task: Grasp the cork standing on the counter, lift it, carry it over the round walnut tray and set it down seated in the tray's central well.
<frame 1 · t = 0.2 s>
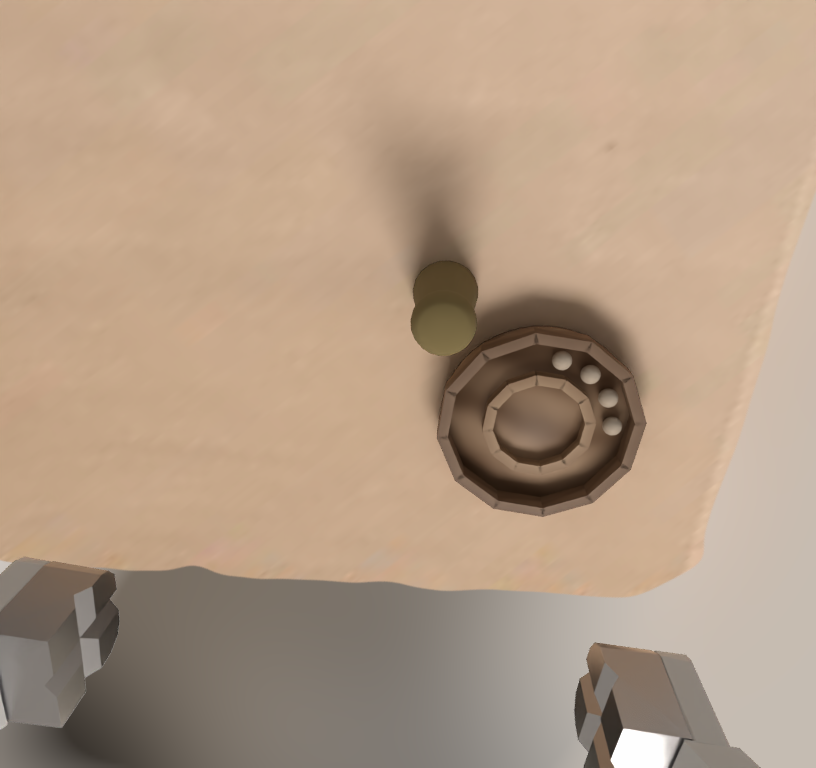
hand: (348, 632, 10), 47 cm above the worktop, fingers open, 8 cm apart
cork: (445, 292, 56), on the worktop
tray: (535, 416, 60), on the worktop
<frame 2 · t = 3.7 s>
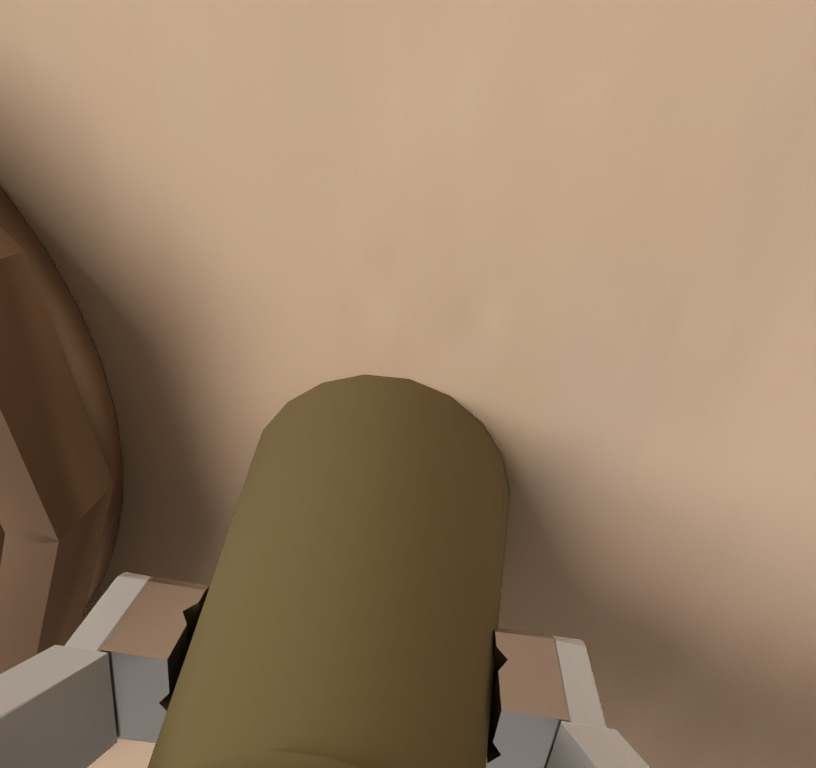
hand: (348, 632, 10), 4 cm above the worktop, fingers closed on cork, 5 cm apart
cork: (379, 490, 14), on the worktop, touching gripper
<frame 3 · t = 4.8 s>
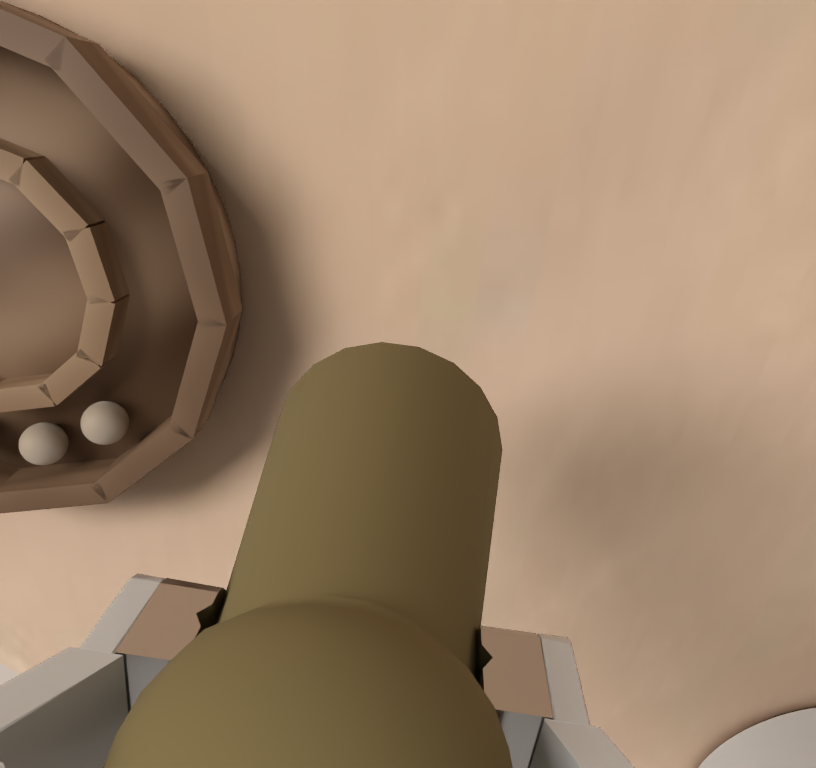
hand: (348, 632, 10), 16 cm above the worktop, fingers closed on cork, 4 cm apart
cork: (388, 445, 16), point 9 cm above the worktop, touching gripper
tray: (6, 269, 24), on the worktop
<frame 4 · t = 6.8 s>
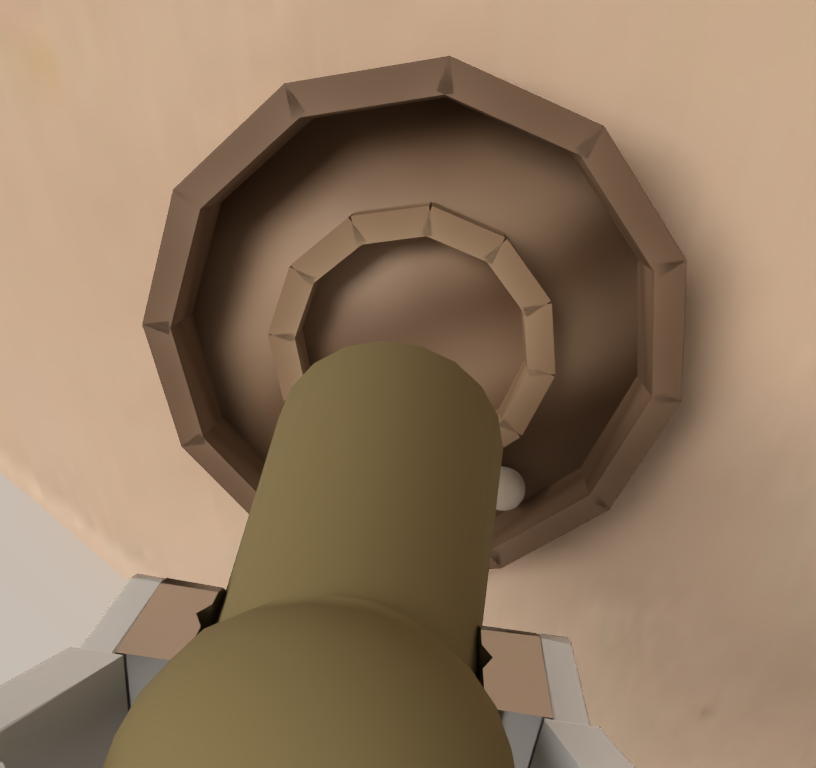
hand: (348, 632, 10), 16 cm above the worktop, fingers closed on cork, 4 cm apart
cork: (389, 444, 16), point 9 cm above the worktop, touching gripper
tray: (414, 335, 25), on the worktop
when the fingers open (7 cm above the worktop, at t = 9.0 s): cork stays where it is, resting on tray.
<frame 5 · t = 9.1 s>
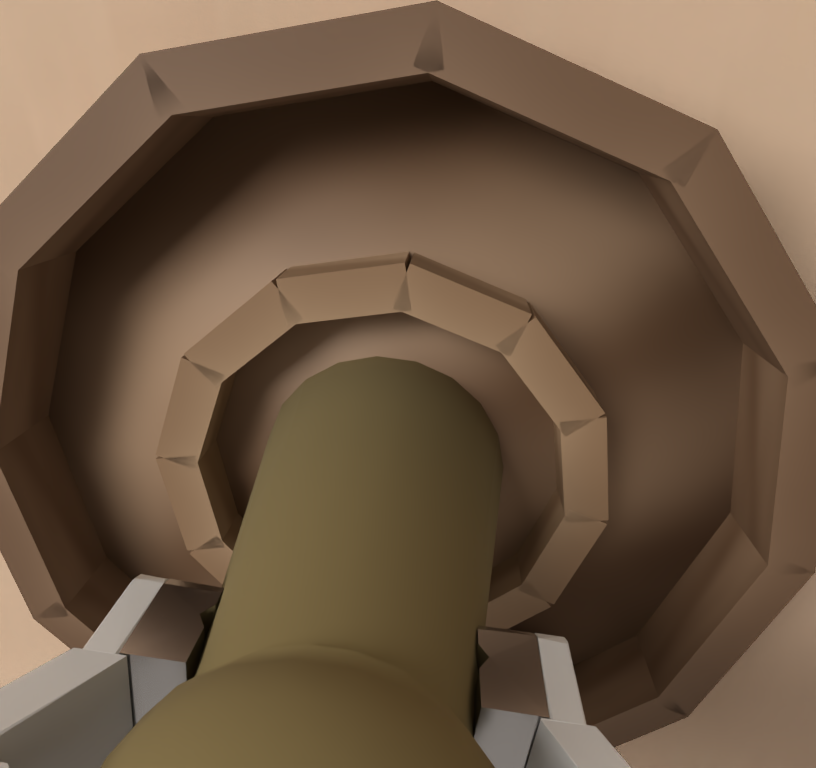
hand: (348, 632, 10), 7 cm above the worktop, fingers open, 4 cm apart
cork: (385, 462, 16), point 1 cm above the worktop, touching tray
tray: (389, 444, 16), on the worktop
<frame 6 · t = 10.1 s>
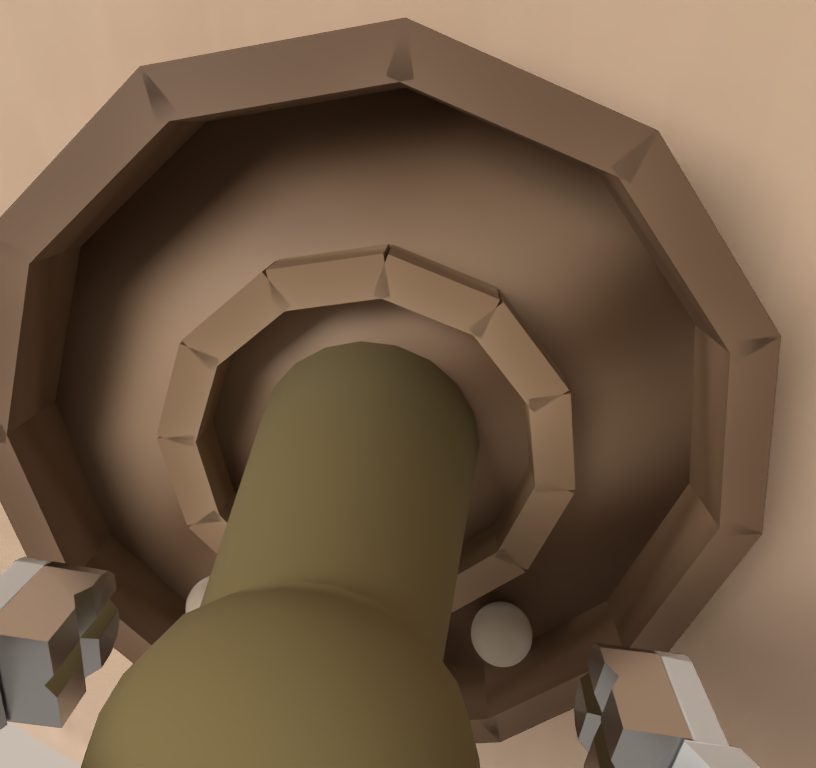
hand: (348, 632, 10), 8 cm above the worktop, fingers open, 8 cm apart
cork: (370, 441, 17), point 1 cm above the worktop, touching tray
tray: (374, 424, 17), on the worktop
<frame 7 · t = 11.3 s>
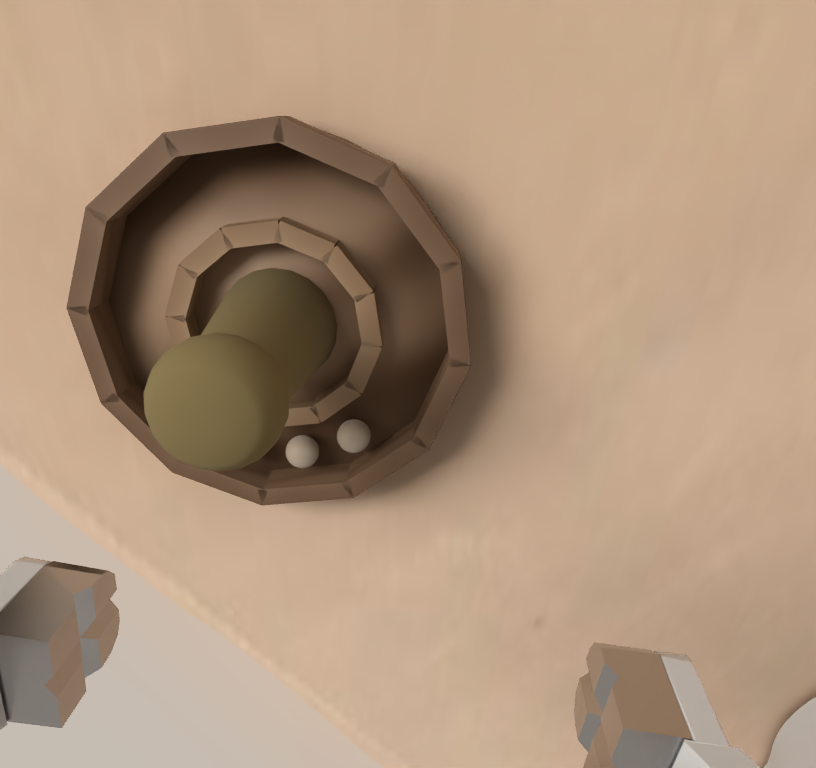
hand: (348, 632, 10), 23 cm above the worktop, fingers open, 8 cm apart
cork: (279, 324, 31), point 1 cm above the worktop, touching tray
tray: (284, 318, 32), on the worktop
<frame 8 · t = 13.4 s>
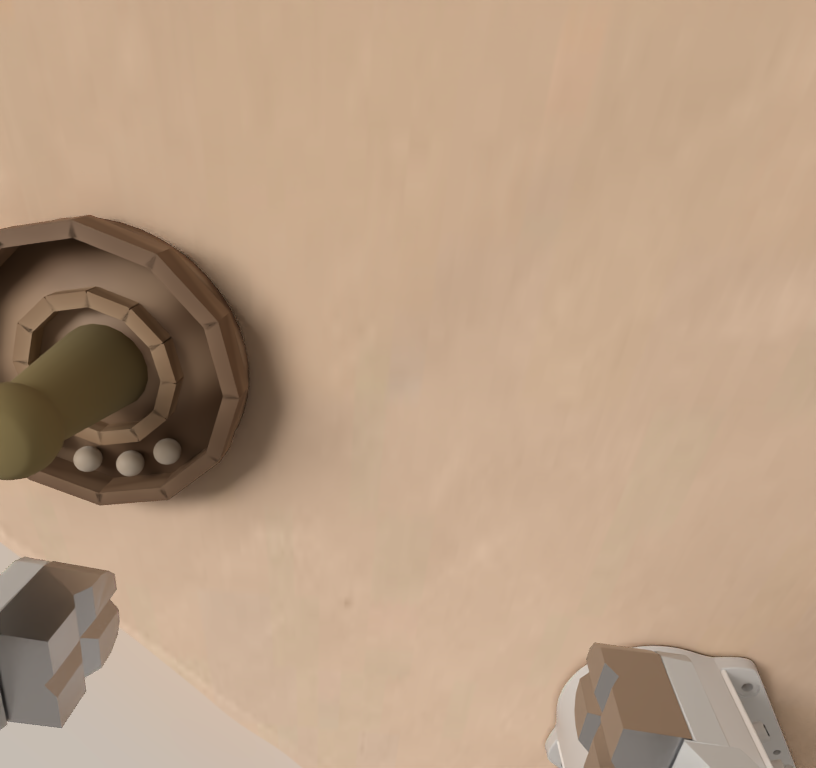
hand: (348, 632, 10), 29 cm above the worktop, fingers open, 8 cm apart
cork: (105, 365, 40), point 1 cm above the worktop, touching tray
tray: (111, 360, 41), on the worktop
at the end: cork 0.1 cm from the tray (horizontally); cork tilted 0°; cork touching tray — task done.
